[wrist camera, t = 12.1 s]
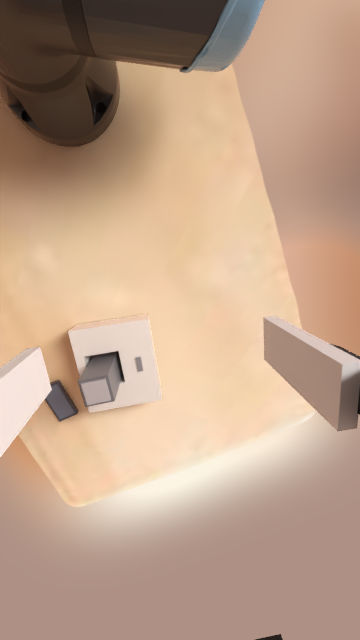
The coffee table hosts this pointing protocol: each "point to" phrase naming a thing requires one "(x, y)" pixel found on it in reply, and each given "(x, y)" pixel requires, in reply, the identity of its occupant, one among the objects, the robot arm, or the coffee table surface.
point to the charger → (101, 379)
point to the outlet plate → (121, 357)
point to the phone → (60, 402)
